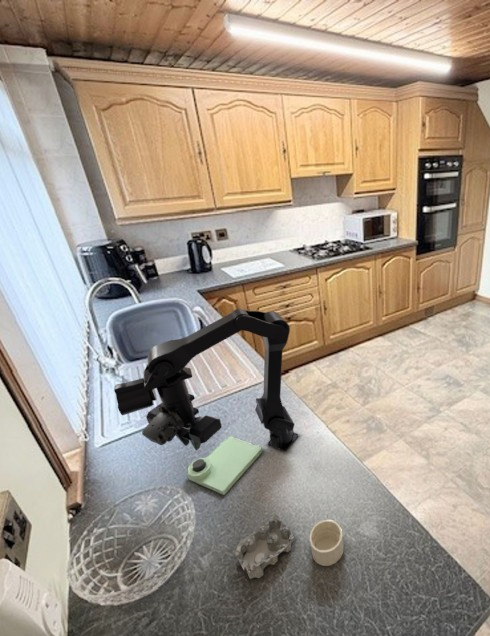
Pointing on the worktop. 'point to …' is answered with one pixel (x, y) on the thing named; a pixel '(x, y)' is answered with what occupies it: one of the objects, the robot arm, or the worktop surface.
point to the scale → (225, 464)
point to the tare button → (198, 465)
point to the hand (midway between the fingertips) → (192, 446)
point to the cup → (326, 542)
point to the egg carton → (264, 546)
